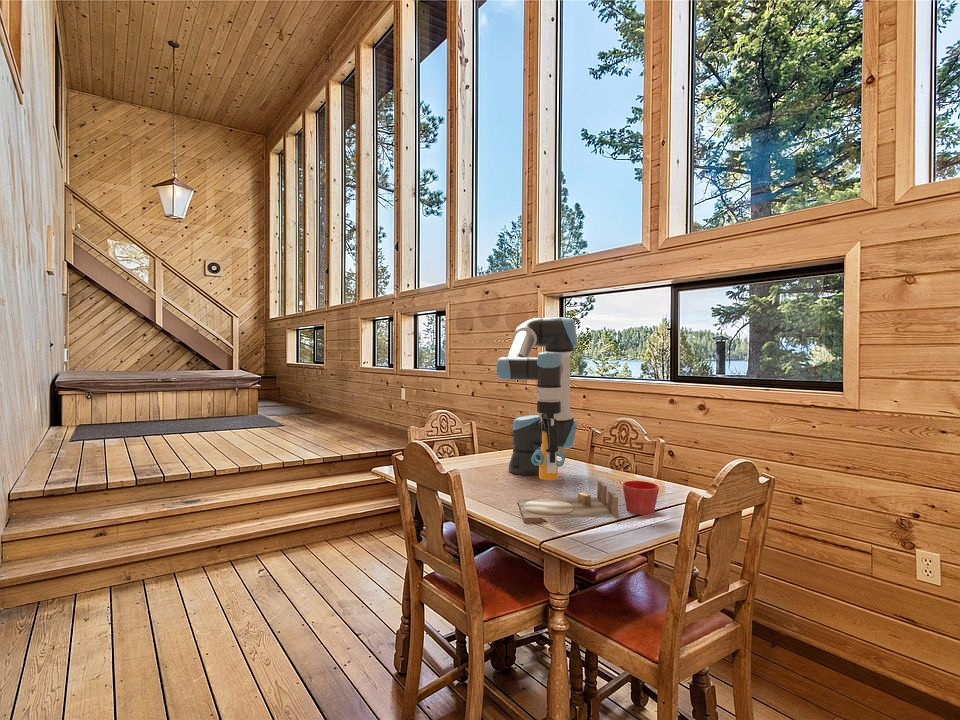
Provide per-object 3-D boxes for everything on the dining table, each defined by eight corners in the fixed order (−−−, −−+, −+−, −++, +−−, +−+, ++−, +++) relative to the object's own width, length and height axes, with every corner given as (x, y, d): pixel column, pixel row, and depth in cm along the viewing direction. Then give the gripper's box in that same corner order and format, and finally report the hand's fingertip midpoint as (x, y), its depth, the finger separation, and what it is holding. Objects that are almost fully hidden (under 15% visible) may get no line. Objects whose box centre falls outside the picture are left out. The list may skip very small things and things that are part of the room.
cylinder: (564, 484, 162) (564, 435, 162) (530, 482, 164) (530, 434, 164) (565, 474, 174) (566, 429, 174) (534, 473, 176) (534, 428, 176)
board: (517, 502, 180) (517, 480, 179) (601, 501, 180) (602, 480, 180) (524, 522, 160) (524, 498, 159) (619, 521, 161) (619, 497, 160)
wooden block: (577, 501, 176) (577, 492, 175) (584, 500, 177) (584, 492, 176) (584, 505, 172) (584, 496, 172) (590, 504, 173) (590, 495, 173)
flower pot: (633, 507, 174) (633, 478, 174) (664, 515, 166) (665, 484, 166) (615, 514, 167) (616, 484, 167) (647, 523, 159) (647, 491, 159)
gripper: (532, 396, 181) (531, 460, 181) (542, 404, 157) (542, 477, 157) (554, 396, 181) (553, 459, 181) (568, 404, 157) (567, 477, 157)
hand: (548, 468), depth 169 cm, fingers closed on cylinder, 12 cm apart
